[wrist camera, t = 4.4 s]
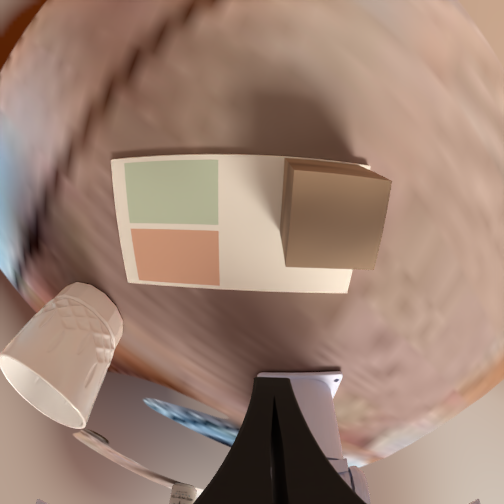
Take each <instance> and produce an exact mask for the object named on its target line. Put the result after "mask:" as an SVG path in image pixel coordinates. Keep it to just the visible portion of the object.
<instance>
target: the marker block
mask: <svg viewBox="0 0 504 504" xmlns="http://www.w3.org/2000/svg"><path fill="white" fill-rule="evenodd" d="M391 183H392V181H391V180H389V179H387V178H385V177H383V176H381V175H379V174H377V173H375V172H373V171H370V170H368V169H366V168H364V167H362V166H360V165H353V164H346V163H337V162H328V161H318V160H307V159H295V158H285V159H284V176H283V191H282V206H281V220H280V236H281V242H282V248H283V254H284V260H285V266H286V267H300V268H329V269H362V270H374V267H375V263H376V259H377V255H378V251H379V246H380V242H381V237H382V233H383V228H384V223H385V218H386V213H387V207H388V202H389V196H390V190H391Z"/></svg>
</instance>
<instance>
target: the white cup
mask: <svg viewBox="0 0 504 504" xmlns="http://www.w3.org/2000/svg"><path fill="white" fill-rule="evenodd" d="M122 333H123V320H122V318H121V315H120V313H119V311H118V308H117V307H116V306H115V304H114V303H113V302H112V301H111V300H110V299H109V298H108V296H107V295H106V294H105V293H103V292H101V291H100V290H98V289H97V288H95V287H94V286H92V285H90V284H85V283H80V282H75V283H73V284H70V285H67V286H66V287H65V288H64V289H63V290H62V291H61V292H60V293H59V294H58V295H57V296H56V297H55V298H54V299H52V300H51V301H49V302H48V303H47V304H46V305H45V306H44V307H43V308H42V309H41V310H40V311H39V312H38V313H37V314H35V315H34V316H33V317H32V319H30V320H29V321H28V323H27V324H26V325H25V326H24V327H23V328H22V329H21V330H20V331H19V333H18V334H17V335H16V336H15V337H14V338H13V339H12V340H11V341H10V342H9V344H8V345H7V346H6V347H5V348H4V349H3V350H2V352H1V353H0V368H1V371H2V372H3V374H4V376H5V377H6V379H7V380H8V381H9V382H10V384H11V385H12V386H13V388H14V389H15V390H16V391H17V392H18V393H19V394H20V395H21V396H22V397H23V398H24V399H25V400H26V401H27V402H29V403H30V404H31V405H32V406H33V407H35V408H36V409H37V410H39V411H40V412H42V413H43V414H44V415H46V416H48V417H49V418H51V419H53V420H55V421H56V422H58V423H61V424H63V425H65V426H68V427H71V428H76V429H82V428H84V427H85V426H86V424H87V420H88V418H89V415H90V412H91V410H92V407H93V405H94V402H95V399H96V397H97V395H98V392H99V390H100V387H101V385H102V383H103V380H104V378H105V375H106V372H107V369H108V367H109V365H110V363H111V360H112V357H113V353H114V350H115V348H116V346H117V344H118V342H119V340H120V338H121V336H122Z"/></svg>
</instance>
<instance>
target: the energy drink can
mask: <svg viewBox="0 0 504 504" xmlns="http://www.w3.org/2000/svg"><path fill="white" fill-rule="evenodd" d="M196 494H197V490H196V489H195V487H194V486H192V485H188V484H184V483H175V485H173V486H172V492H171V498H170V503H169V504H193V503H194V502H195V501H196Z"/></svg>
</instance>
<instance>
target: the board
mask: <svg viewBox="0 0 504 504" xmlns="http://www.w3.org/2000/svg"><path fill="white" fill-rule="evenodd" d="M285 158H295V159H307V160H318V161H328V162H337V163H346V164H353V165H360V166H362V167H364V168H366V169H368V170H370V166H369V165H364V164H357V163H350V162H342V161H333V160H324V159H313V158H302V157H289V156H273V155H249V154H180V155H157V156H142V157H129V158H118V159H112V160H111V169H112V181H113V192H114V201H115V209H116V217H117V224H118V231H119V237H120V243H121V249H122V255H123V260H124V265H125V270H126V275H127V280H128V283H139V284H151V285H163V286H177V287H191V288H207V289H224V290H245V291H269V292H302V293H347V291H348V287H349V283H350V279H351V275H352V270H353V269H329V268H300V267H286V266H285V260H284V254H283V248H282V242H281V236H280V220H281V206H282V191H283V176H284V159H285Z"/></svg>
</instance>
